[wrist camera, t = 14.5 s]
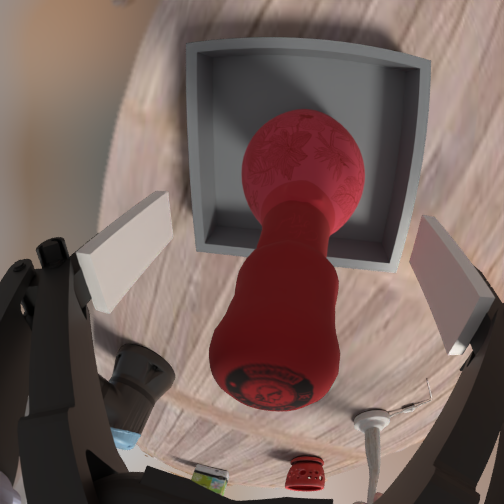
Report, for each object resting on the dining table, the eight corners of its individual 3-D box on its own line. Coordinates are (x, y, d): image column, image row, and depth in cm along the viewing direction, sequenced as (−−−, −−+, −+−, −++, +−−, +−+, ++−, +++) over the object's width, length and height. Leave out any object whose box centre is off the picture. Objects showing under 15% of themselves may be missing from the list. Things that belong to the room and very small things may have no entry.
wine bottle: (257, 178, 34) (117, 410, 9) (272, 99, 29) (47, 135, 4) (336, 198, 34) (361, 469, 8) (357, 120, 28) (557, 269, 3)
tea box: (228, 470, 102) (220, 497, 89) (229, 475, 107) (222, 500, 94) (196, 463, 104) (187, 488, 92) (199, 468, 109) (191, 492, 97)
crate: (211, 229, 40) (196, 251, 35) (205, 50, 28) (185, 43, 23) (386, 248, 36) (396, 273, 31) (412, 65, 24) (430, 60, 19)
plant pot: (283, 460, 82) (277, 488, 72) (302, 451, 75) (297, 483, 65) (313, 466, 83) (309, 494, 73) (334, 458, 76) (331, 488, 66)
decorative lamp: (427, 375, 48) (441, 554, 14) (435, 416, 56) (443, 547, 22) (310, 408, 59) (285, 567, 26) (343, 441, 67) (329, 562, 34)
